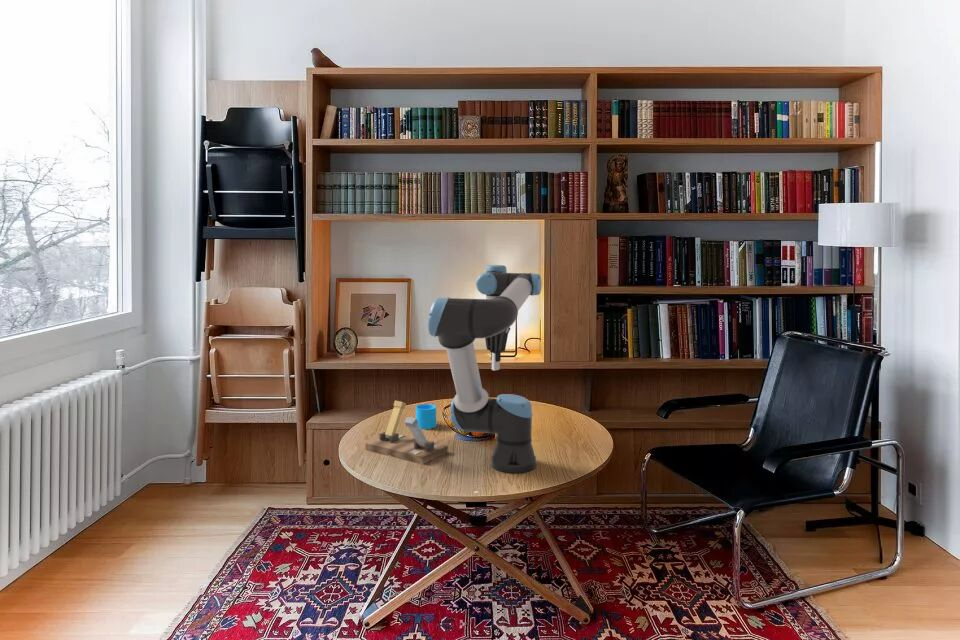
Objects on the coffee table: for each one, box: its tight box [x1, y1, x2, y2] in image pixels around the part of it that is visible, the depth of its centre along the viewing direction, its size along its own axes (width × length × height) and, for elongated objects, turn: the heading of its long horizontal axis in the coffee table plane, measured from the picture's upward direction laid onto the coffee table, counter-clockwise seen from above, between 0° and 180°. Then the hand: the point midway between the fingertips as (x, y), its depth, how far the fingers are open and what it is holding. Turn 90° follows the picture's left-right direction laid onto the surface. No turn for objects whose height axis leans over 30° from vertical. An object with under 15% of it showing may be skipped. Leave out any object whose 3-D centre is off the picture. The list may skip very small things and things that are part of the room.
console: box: [365, 431, 449, 465], centre depth 231 cm, size 26×14×5 cm, turn 57°
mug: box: [415, 403, 437, 430], centre depth 262 cm, size 12×8×8 cm
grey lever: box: [403, 416, 428, 447], centre depth 223 cm, size 4×2×14 cm
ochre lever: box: [385, 400, 407, 439], centre depth 237 cm, size 4×2×14 cm, turn 57°
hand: (495, 369), depth 243 cm, fingers closed
